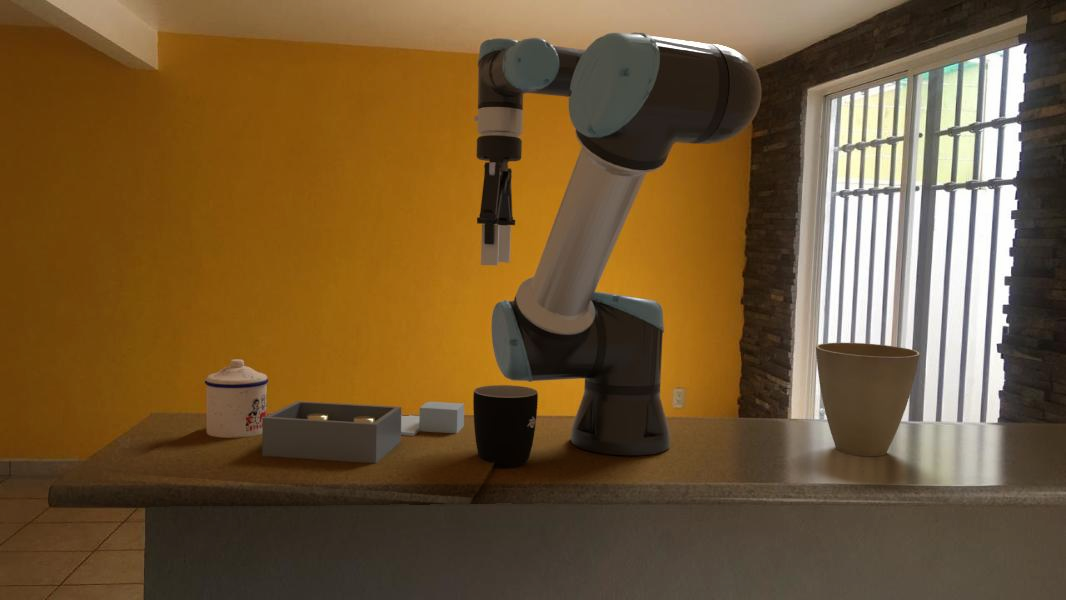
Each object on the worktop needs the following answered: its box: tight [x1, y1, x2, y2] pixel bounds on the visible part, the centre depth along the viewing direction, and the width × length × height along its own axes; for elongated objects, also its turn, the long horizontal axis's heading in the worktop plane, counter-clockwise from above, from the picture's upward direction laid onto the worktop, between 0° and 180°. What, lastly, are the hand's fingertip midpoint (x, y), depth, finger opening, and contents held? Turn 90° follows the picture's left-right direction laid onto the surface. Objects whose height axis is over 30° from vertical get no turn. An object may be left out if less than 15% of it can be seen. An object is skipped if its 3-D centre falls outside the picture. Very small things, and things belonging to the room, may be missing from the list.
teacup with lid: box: [204, 358, 269, 439], centre depth 133 cm, size 12×9×12 cm
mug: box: [472, 384, 539, 469], centre depth 122 cm, size 12×9×10 cm
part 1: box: [307, 413, 328, 420], centre depth 126 cm, size 3×3×4 cm
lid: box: [401, 401, 465, 437], centre depth 138 cm, size 23×12×5 cm, turn 82°
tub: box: [261, 400, 402, 464], centre depth 123 cm, size 16×12×6 cm
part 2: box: [354, 416, 375, 423], centre depth 125 cm, size 3×3×4 cm
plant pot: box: [815, 342, 920, 457], centre depth 133 cm, size 15×15×16 cm
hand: (496, 263), depth 146 cm, fingers open, 13 cm apart
